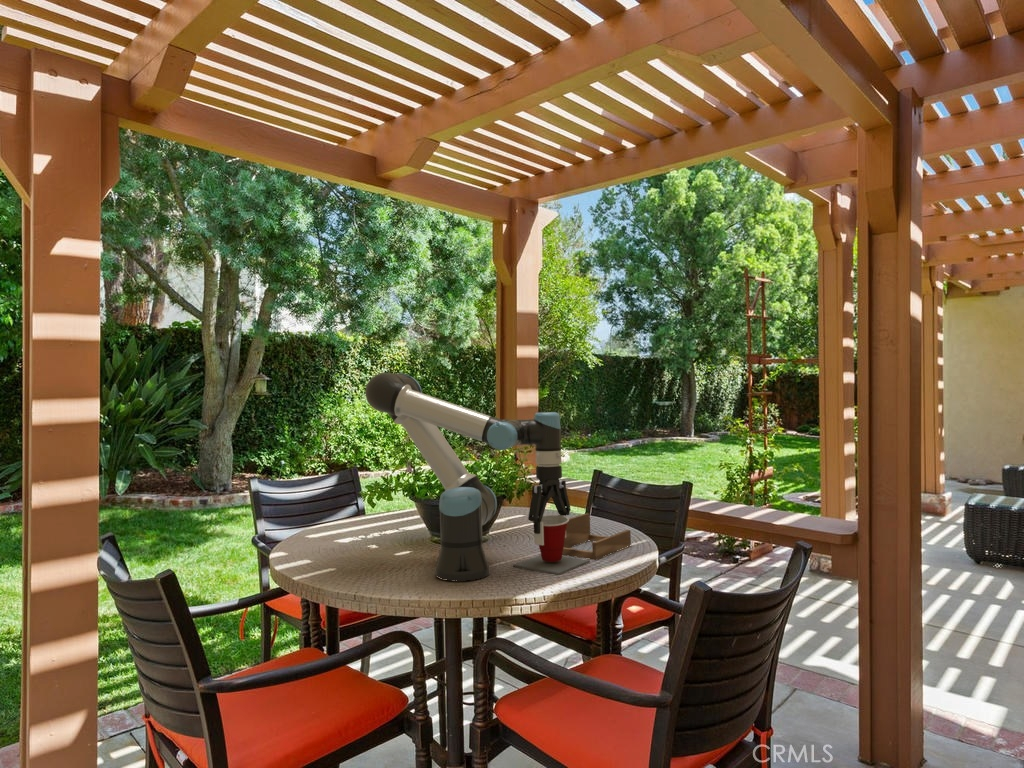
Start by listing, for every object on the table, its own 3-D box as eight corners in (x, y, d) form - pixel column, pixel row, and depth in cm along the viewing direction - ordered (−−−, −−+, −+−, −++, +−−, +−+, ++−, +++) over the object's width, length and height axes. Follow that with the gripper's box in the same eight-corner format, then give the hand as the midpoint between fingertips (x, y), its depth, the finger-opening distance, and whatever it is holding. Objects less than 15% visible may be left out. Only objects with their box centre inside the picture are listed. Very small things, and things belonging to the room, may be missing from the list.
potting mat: (513, 566, 189) (513, 564, 189) (545, 555, 201) (545, 553, 201) (558, 575, 179) (558, 572, 179) (589, 562, 192) (589, 560, 192)
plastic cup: (530, 564, 186) (529, 521, 186) (535, 554, 197) (534, 514, 197) (568, 564, 184) (567, 522, 184) (571, 555, 195) (570, 514, 195)
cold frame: (551, 552, 204) (550, 524, 204) (587, 539, 221) (586, 513, 221) (596, 560, 194) (595, 529, 194) (630, 545, 211) (630, 517, 211)
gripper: (535, 469, 179) (537, 550, 179) (581, 461, 197) (583, 534, 197) (514, 468, 184) (516, 547, 184) (560, 460, 202) (562, 532, 202)
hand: (550, 540), depth 190 cm, fingers closed on plastic cup, 11 cm apart
